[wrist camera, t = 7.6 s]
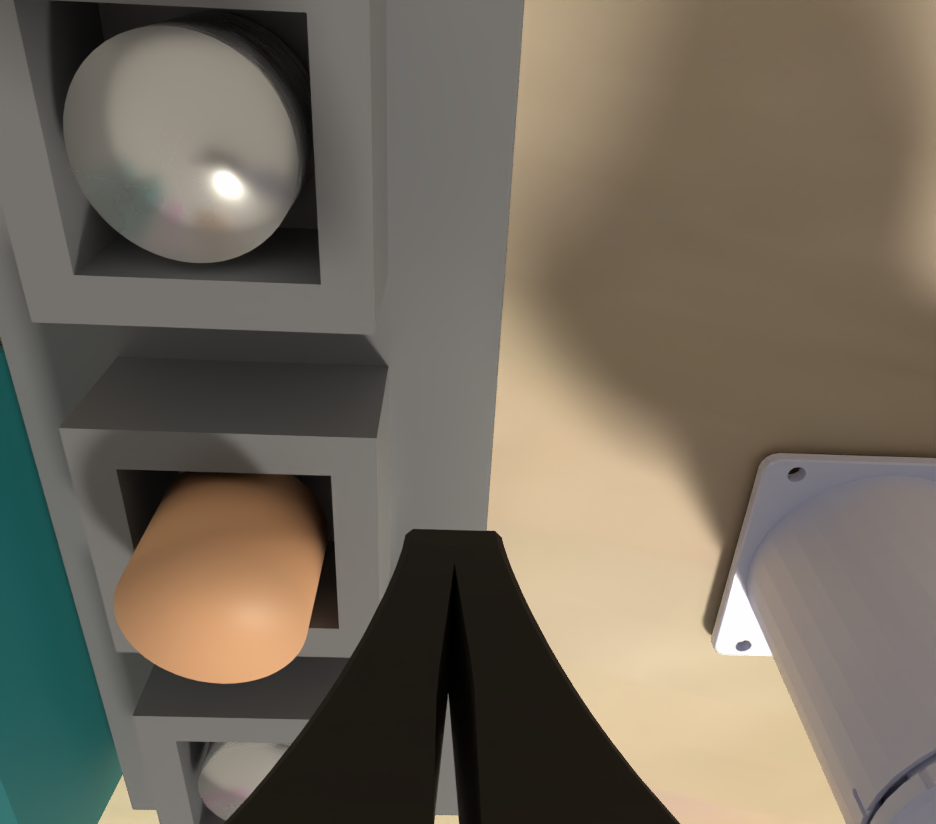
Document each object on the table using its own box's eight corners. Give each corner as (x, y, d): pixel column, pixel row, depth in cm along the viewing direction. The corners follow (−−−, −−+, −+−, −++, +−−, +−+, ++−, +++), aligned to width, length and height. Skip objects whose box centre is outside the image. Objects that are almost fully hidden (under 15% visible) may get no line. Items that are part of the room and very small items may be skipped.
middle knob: (324, 460, 18) (302, 546, 16) (331, 590, 20) (313, 685, 18) (148, 455, 18) (96, 541, 16) (173, 586, 20) (131, 681, 18)
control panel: (531, -212, 15) (562, -275, 11) (465, 766, 31) (466, 910, 26) (-100, -249, 15) (-341, -330, 11) (151, 760, 30) (96, 904, 26)
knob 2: (348, 663, 25) (335, 748, 22) (351, 747, 27) (340, 834, 24) (217, 661, 24) (189, 745, 22) (231, 744, 27) (206, 831, 24)
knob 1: (318, 17, 15) (290, 32, 13) (327, 219, 17) (304, 267, 15) (109, 6, 15) (38, 19, 13) (143, 211, 17) (88, 258, 15)
